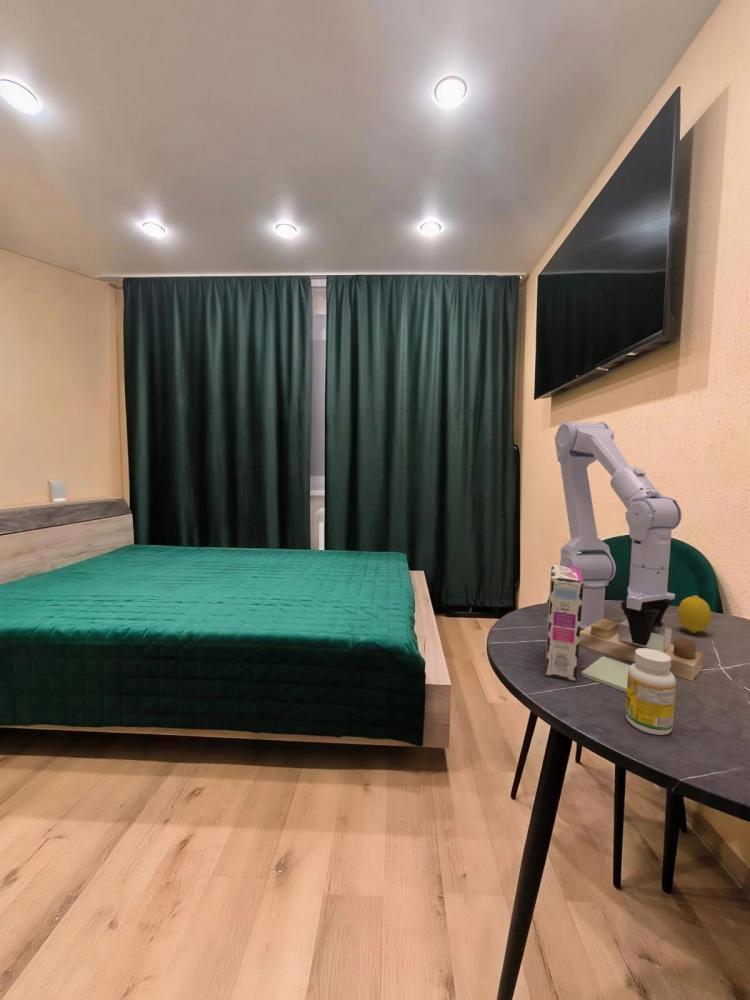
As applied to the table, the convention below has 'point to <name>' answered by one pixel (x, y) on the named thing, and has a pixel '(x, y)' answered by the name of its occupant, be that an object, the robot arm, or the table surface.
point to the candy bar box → (564, 622)
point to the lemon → (694, 614)
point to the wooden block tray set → (606, 641)
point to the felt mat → (608, 673)
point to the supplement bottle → (651, 692)
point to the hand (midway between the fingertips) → (644, 639)
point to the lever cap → (657, 639)
